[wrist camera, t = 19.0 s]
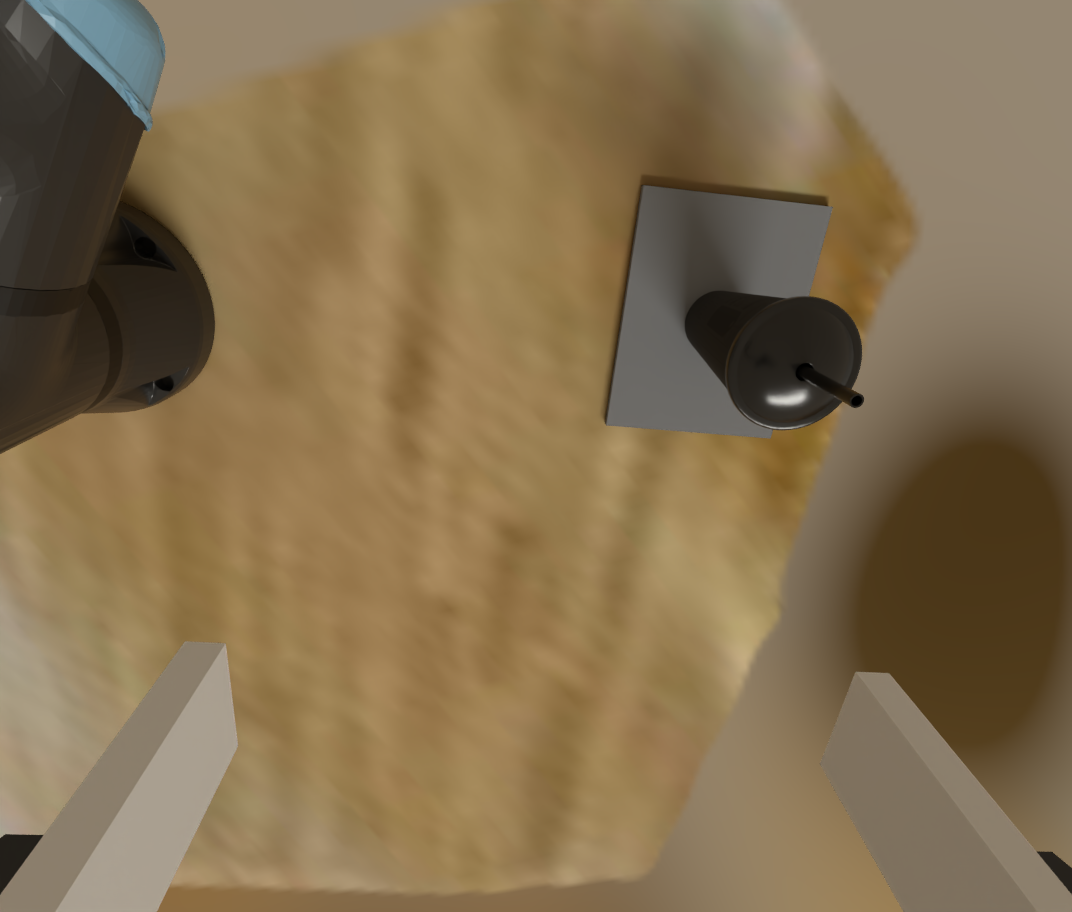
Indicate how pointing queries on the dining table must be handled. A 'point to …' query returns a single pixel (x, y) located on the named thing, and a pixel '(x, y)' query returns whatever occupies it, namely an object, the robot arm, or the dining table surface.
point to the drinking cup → (778, 355)
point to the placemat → (684, 276)
